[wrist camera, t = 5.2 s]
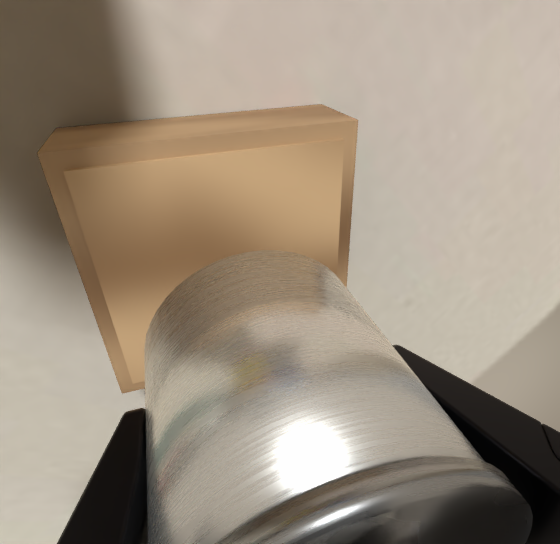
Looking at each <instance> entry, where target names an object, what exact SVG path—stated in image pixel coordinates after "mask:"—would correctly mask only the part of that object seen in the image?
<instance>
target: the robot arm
mask: <svg viewBox="0 0 560 544" xmlns="http://www.w3.org/2000/svg"><path fill="white" fill-rule="evenodd" d="M392 346H393V347H394V348H395V350H396V351H397V352H398V353H399V355H400V356H401V357H402V358H403V360H404V361H405V362H406V363H407V365H408V366H409V367H410V368H411V370H412V371H413V372H414V373H415V375H416V376H417V377H418V378H419V380H420V381H421V382H422V383H423V385H424V386H425V387H426V388H427V390H428V391H429V392H430V393H431V395H432V396H433V397H434V398H435V400H436V401H437V402H438V403H439V405H440V406H441V407H442V408H443V410H444V411H445V412H446V413H447V415H448V416H449V417H450V418H451V420H452V421H453V422H454V423H455V425H456V426H457V427H458V428H459V430H460V431H461V432H462V433H463V435H464V436H465V437H466V438H467V440H468V441H469V442H470V443H471V445H472V446H473V447H474V448H475V450H476V451H477V452H478V454H479V455H480V456H481V457H482V459H483V460H484V461H485V462H486V463H489V464H492V465H493V466H495V467H496V468H498V469H499V470H500V471H502V472H503V473H504V475H505V476H506V477H507V478H508V479H509V481H510V482H511V483H512V484H513V486H514V487H515V488H516V489H517V490H518V492H519V493H520V494H521V495H522V497H523V498H524V499H525V500H526V502H527V503H528V504H529V506H530V508H531V511H532V515H533V519H532V528H531V531H530V534H529V537H528V539H527V541H526V543H525V544H560V432H558V431H556V430H554V429H553V428H551V427H549V426H547V425H545V424H542V425H541V423H540V422H539V421H538V420H536V419H534V418H532V417H530V416H528V415H527V414H525V413H523V412H521V411H519V410H517V409H515V408H514V407H512V406H510V405H508V404H506V403H504V402H503V401H501V400H499V399H497V398H495V397H493V396H491V395H490V394H488V393H486V392H484V391H482V390H481V389H479V388H477V387H475V386H473V385H471V384H469V383H468V382H466V381H464V380H462V379H460V378H458V377H457V376H455V375H453V374H451V373H449V372H447V371H446V370H444V369H442V368H440V367H438V366H436V365H435V364H433V363H431V362H429V361H427V360H425V359H423V358H422V357H420V356H418V355H416V354H414V353H412V352H411V351H409V350H407V349H405V348H403V347H401V346H399V345H392ZM57 544H148V513H147V463H146V413H145V409H144V408H139V409H135V410H131V411H128V412H126V413H124V415H123V416H122V418H121V420H120V422H119V424H118V426H117V428H116V430H115V432H114V434H113V436H112V438H111V440H110V442H109V443H108V445H107V447H106V449H105V451H104V453H103V455H102V457H101V459H100V461H99V463H98V465H97V467H96V469H95V471H94V473H93V475H92V476H91V478H90V480H89V482H88V484H87V486H86V488H85V490H84V492H83V494H82V496H81V498H80V500H79V502H78V504H77V506H76V508H75V510H74V511H73V513H72V515H71V517H70V519H69V521H68V523H67V525H66V527H65V529H64V531H63V533H62V535H61V537H60V539H59V541H58V543H57Z"/></svg>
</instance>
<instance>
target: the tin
mask: <svg viewBox="0 0 560 544" xmlns="http://www.w3.org/2000/svg"><path fill="white" fill-rule="evenodd" d="M144 363H145V413H146V463H147V513H148V544H525V543H526V541H527V539H528V537H529V534H530V531H531V528H532V519H533V515H532V511H531V508H530V506H529V504H528V503H527V502H526V500H525V499H524V498H523V497H522V495H521V494H520V493H519V492H518V490H517V489H516V488H515V487H514V486H513V484H512V483H511V482H510V481H509V479H508V478H507V477H506V476H505V475H504V473H503V472H502V471H500V470H499V469H498V468H496V467H495V466H493V465H492V464H489V463H486V462H485V461H484V460H483V459H482V457H481V456H480V455H479V454H478V452H477V451H476V450H475V448H474V447H473V446H472V445H471V443H470V442H469V441H468V440H467V438H466V437H465V436H464V435H463V433H462V432H461V431H460V430H459V428H458V427H457V426H456V425H455V423H454V422H453V421H452V420H451V418H450V417H449V416H448V415H447V413H446V412H445V411H444V410H443V408H442V407H441V406H440V405H439V403H438V402H437V401H436V400H435V398H434V397H433V396H432V395H431V393H430V392H429V391H428V390H427V388H426V387H425V386H424V385H423V383H422V382H421V381H420V380H419V378H418V377H417V376H416V375H415V373H414V372H413V371H412V370H411V368H410V367H409V366H408V365H407V363H406V362H405V361H404V360H403V358H402V357H401V356H400V355H399V353H398V352H397V351H396V350H395V348H394V347H393V346H392V344H391V343H390V342H389V341H388V339H387V338H386V337H385V336H384V334H383V333H382V332H381V331H380V329H379V328H378V327H377V326H376V324H375V323H374V322H373V321H372V319H371V318H370V317H369V316H368V314H367V313H366V312H365V311H364V309H363V308H362V307H361V306H360V304H359V303H358V302H357V301H356V299H355V298H354V297H353V296H352V294H351V293H350V292H349V291H348V289H347V288H346V287H345V286H344V284H343V283H342V282H341V281H340V279H339V278H338V277H337V276H336V274H334V273H333V272H332V271H331V270H330V269H329V268H328V267H326V266H325V265H323V264H321V263H320V262H318V261H316V260H314V259H312V258H310V257H307V256H305V255H301V254H297V253H294V252H287V251H280V250H261V251H252V252H245V253H241V254H237V255H233V256H230V257H227V258H224V259H221V260H218V261H216V262H214V263H212V264H210V265H208V266H206V267H204V268H202V269H200V270H199V271H197V272H195V273H194V274H192V275H191V276H189V277H188V278H187V279H185V280H184V281H183V282H182V283H180V284H179V285H178V286H177V287H176V288H175V289H174V290H173V291H172V292H171V293H170V294H169V295H168V296H167V297H166V298H165V300H164V301H163V302H162V304H161V305H160V307H159V308H158V309H157V311H156V313H155V315H154V317H153V319H152V320H151V322H150V325H149V328H148V331H147V334H146V339H145V345H144Z"/></svg>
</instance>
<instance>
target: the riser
mask: <svg viewBox="0 0 560 544" xmlns="http://www.w3.org/2000/svg"><path fill="white" fill-rule="evenodd" d="M357 128H358V120H357V119H354V118H352V117H350V116H347V115H345V114H343V113H340V112H338V111H336V110H334V109H331V108H329V107H327V106H324V105H322V104H319V105H308V106H296V107H285V108H274V109H263V110H252V111H241V112H230V113H219V114H208V115H197V116H186V117H175V118H163V119H152V120H141V121H130V122H119V123H108V124H97V125H86V126H75V127H64V128H56V129H55V130H54V132H53V133H52V134H51V135H50V137H49V138H48V139H47V141H46V142H45V143H44V144H43V146H42V147H41V148H40V150H39V151H38V152H37V155H38V158H39V160H40V163H41V166H42V169H43V172H44V175H45V177H46V180H47V183H48V186H49V189H50V191H51V194H52V197H53V200H54V203H55V206H56V208H57V211H58V214H59V217H60V220H61V223H62V225H63V228H64V231H65V234H66V237H67V239H68V242H69V245H70V248H71V251H72V254H73V256H74V259H75V262H76V265H77V268H78V271H79V273H80V276H81V279H82V282H83V285H84V287H85V290H86V293H87V296H88V299H89V302H90V304H91V307H92V310H93V313H94V316H95V319H96V321H97V324H98V327H99V330H100V333H101V335H102V338H103V341H104V344H105V347H106V350H107V352H108V355H109V358H110V361H111V364H112V367H113V369H114V372H115V375H116V378H117V381H118V383H119V386H120V389H121V392H122V393H127V392H131V391H135V390H139V389H143V388H145V363H144V345H145V339H146V334H147V331H148V328H149V325H150V322H151V320H152V319H153V317H154V315H155V313H156V311H157V309H158V308H159V307H160V305H161V304H162V302H163V301H164V300H165V298H166V297H167V296H168V295H169V294H170V293H171V292H172V291H173V290H174V289H175V288H176V287H177V286H178V285H179V284H180V283H182V282H183V281H184V280H185V279H187V278H188V277H189V276H191V275H192V274H194V273H195V272H197V271H199V270H200V269H202V268H204V267H206V266H208V265H210V264H212V263H214V262H216V261H218V260H221V259H224V258H227V257H230V256H233V255H237V254H241V253H245V252H252V251H261V250H280V251H287V252H294V253H297V254H301V255H305V256H307V257H310V258H312V259H314V260H316V261H318V262H320V263H321V264H323V265H325V266H326V267H328V268H329V269H330V270H331V271H332V272H333V273H334V274H336V276H337V277H338V278H339V279H340V281H341V282H342V283H343V284H344V286H345V287H346V286H347V272H348V257H349V243H350V229H351V214H352V200H353V186H354V171H355V157H356V143H357Z"/></svg>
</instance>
